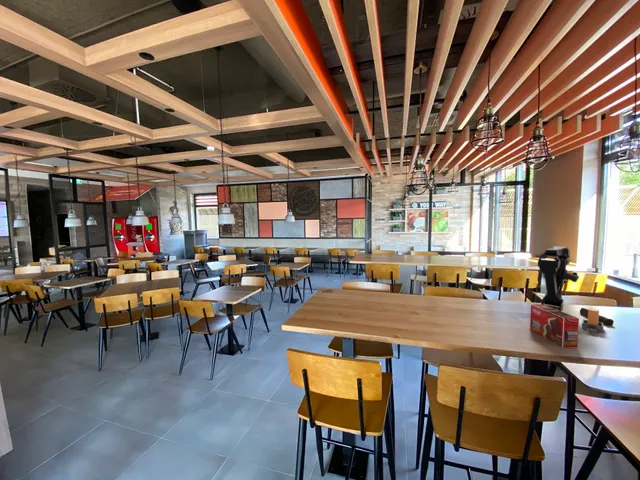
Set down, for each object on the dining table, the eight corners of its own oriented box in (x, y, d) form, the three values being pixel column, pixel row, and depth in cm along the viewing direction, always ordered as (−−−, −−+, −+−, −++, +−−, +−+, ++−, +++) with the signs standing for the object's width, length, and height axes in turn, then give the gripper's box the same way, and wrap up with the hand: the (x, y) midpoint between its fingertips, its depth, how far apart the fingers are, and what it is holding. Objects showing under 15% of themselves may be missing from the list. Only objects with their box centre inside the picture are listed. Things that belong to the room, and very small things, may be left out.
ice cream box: (529, 329, 137) (530, 304, 137) (542, 329, 137) (544, 304, 136) (562, 347, 117) (563, 318, 117) (577, 347, 117) (579, 318, 116)
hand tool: (614, 326, 140) (614, 318, 140) (605, 326, 141) (605, 317, 141) (585, 314, 159) (585, 307, 159) (577, 314, 160) (578, 306, 159)
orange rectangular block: (597, 330, 135) (598, 311, 134) (587, 328, 138) (588, 309, 137) (597, 328, 137) (599, 310, 137) (588, 326, 140) (589, 308, 139)
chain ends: (603, 337, 127) (603, 331, 127) (581, 332, 133) (581, 326, 133) (602, 324, 142) (602, 319, 142) (582, 321, 148) (583, 316, 147)
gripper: (575, 271, 145) (573, 299, 146) (580, 267, 156) (579, 293, 157) (548, 268, 153) (547, 295, 154) (555, 265, 165) (554, 289, 166)
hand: (558, 293), depth 158 cm, fingers open, 9 cm apart
